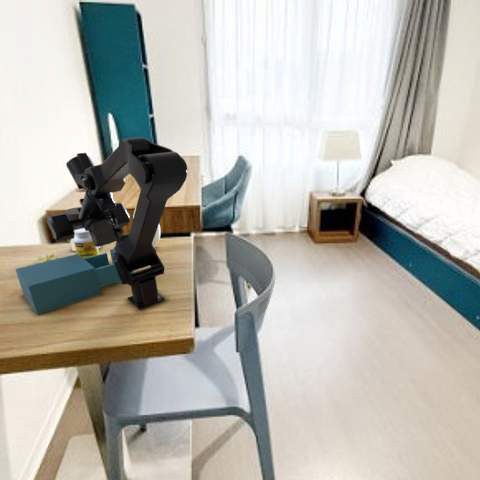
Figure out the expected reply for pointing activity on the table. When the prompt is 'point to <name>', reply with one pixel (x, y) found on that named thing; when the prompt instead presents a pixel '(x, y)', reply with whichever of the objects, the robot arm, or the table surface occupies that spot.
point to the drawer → (104, 268)
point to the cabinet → (58, 283)
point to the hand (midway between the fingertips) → (85, 236)
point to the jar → (73, 215)
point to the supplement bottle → (85, 244)
